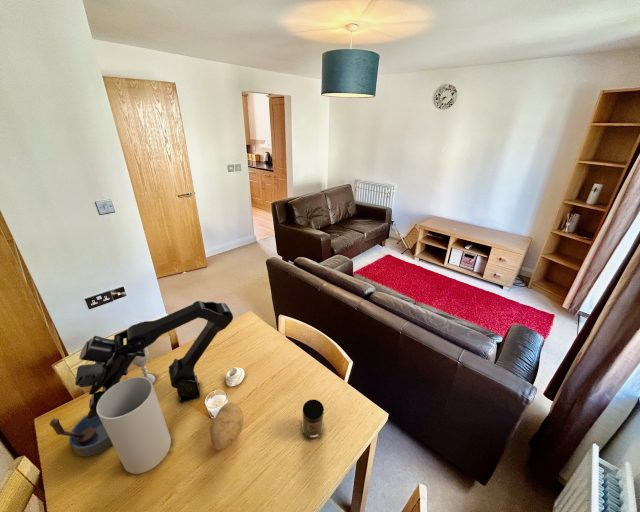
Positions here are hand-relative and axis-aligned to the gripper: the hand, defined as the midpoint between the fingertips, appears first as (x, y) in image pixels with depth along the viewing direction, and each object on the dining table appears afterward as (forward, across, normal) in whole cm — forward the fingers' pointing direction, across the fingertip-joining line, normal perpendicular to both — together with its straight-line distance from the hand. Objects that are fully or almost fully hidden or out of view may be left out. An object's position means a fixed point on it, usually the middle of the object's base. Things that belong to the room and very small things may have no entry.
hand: (89, 405), depth 82 cm
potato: (-12, +23, +34) cm, 43 cm away
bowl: (+10, 0, +8) cm, 13 cm away
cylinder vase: (+2, +14, +17) cm, 23 cm away
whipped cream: (-18, +3, +40) cm, 44 cm away
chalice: (+1, -14, +19) cm, 24 cm away
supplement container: (-28, +36, +52) cm, 69 cm away
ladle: (+12, 0, +4) cm, 13 cm away
